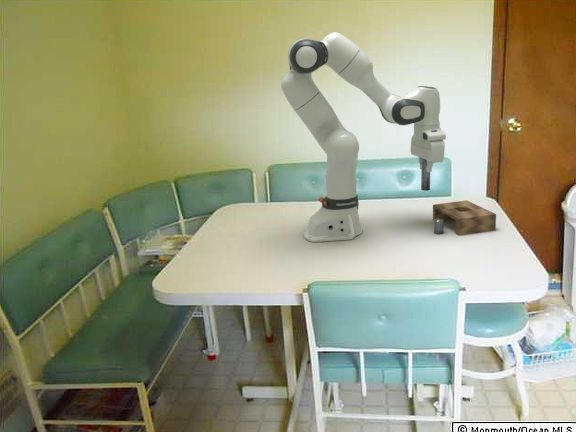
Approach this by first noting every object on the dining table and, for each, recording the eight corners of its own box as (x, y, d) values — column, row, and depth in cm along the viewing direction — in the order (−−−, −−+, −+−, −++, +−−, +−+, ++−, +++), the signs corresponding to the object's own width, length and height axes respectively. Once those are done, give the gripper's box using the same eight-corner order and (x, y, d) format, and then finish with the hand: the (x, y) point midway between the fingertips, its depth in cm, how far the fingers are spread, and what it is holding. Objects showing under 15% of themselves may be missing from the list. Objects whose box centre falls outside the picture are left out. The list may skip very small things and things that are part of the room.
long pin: (423, 191, 178) (424, 153, 174) (419, 189, 181) (420, 151, 177) (431, 190, 178) (432, 152, 174) (427, 188, 181) (428, 150, 177)
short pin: (436, 235, 172) (436, 221, 171) (432, 232, 175) (432, 219, 174) (444, 233, 173) (445, 220, 171) (440, 231, 176) (440, 217, 174)
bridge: (458, 235, 170) (458, 219, 168) (432, 219, 189) (432, 204, 187) (495, 230, 172) (496, 214, 170) (466, 214, 191) (466, 200, 189)
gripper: (406, 130, 183) (406, 166, 187) (430, 136, 163) (430, 176, 167) (422, 128, 184) (421, 164, 188) (448, 135, 164) (447, 175, 168)
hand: (425, 170), depth 177 cm, fingers closed on long pin, 3 cm apart
